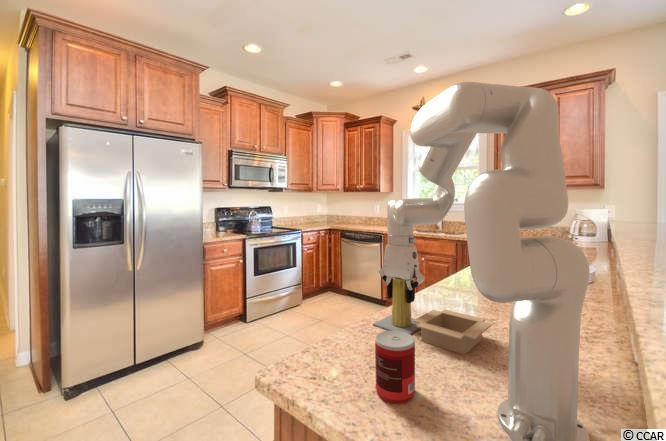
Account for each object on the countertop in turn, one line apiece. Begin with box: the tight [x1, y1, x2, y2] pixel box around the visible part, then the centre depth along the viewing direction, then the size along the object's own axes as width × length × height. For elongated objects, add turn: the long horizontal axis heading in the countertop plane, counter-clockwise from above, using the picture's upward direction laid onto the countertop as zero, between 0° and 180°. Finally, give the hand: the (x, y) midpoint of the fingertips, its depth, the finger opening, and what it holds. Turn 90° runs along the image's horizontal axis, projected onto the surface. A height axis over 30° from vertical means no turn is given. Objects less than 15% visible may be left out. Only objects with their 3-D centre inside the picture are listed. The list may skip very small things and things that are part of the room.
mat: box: [372, 314, 421, 336], centre depth 97 cm, size 12×12×1 cm
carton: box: [413, 309, 493, 356], centre depth 85 cm, size 17×17×5 cm
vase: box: [391, 278, 412, 327], centre depth 96 cm, size 6×6×14 cm
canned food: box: [374, 330, 416, 405], centre depth 63 cm, size 8×8×11 cm
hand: (400, 299), depth 96 cm, fingers open, 6 cm apart
